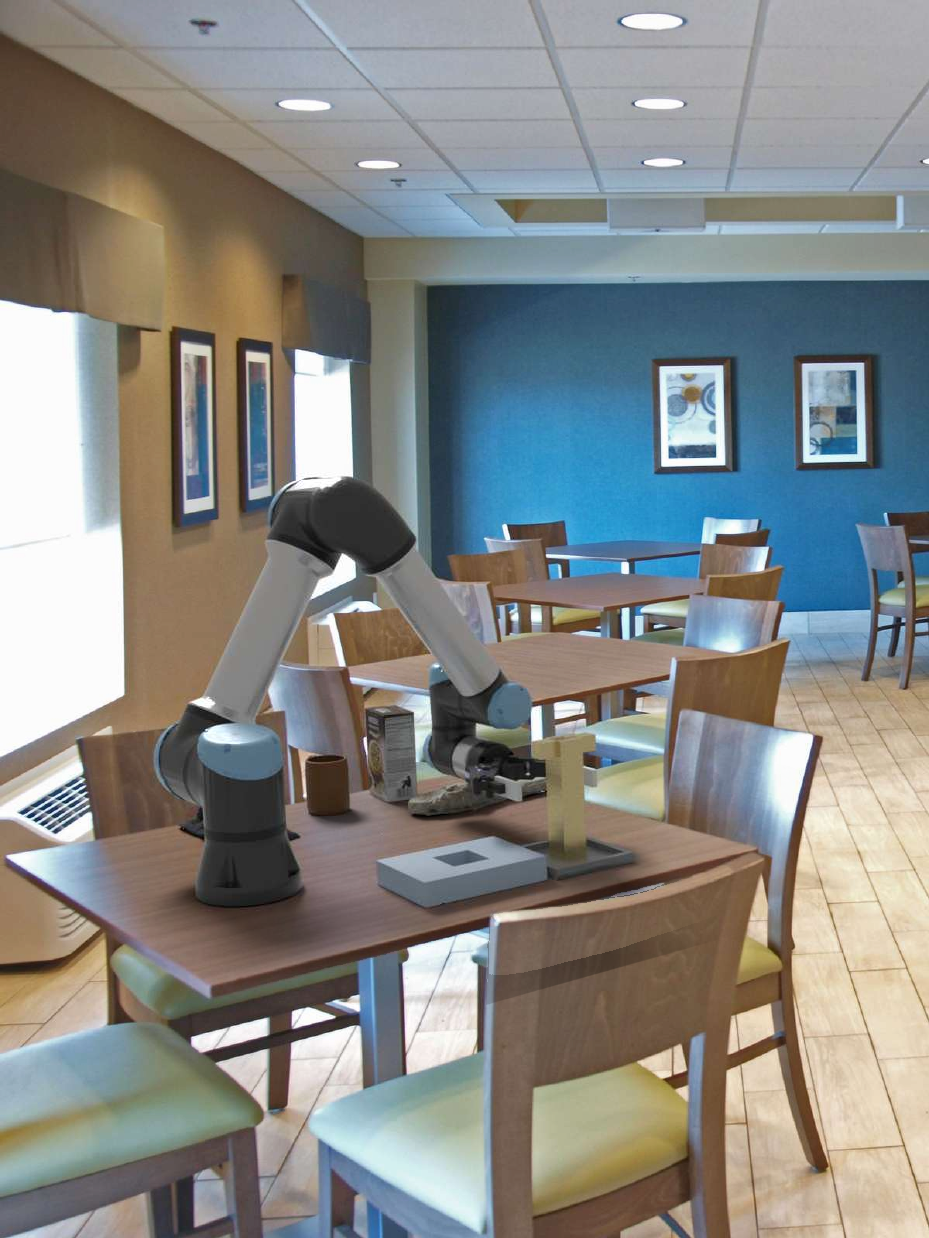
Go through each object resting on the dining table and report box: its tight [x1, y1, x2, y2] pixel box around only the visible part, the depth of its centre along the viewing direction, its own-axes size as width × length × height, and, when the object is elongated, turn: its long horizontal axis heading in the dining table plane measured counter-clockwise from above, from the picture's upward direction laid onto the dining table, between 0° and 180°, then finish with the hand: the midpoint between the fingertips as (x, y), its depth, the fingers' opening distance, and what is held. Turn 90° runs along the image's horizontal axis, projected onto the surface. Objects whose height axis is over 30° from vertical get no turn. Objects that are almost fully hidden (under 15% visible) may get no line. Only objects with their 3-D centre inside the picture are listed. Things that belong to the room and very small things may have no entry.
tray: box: [520, 835, 636, 881], centre depth 205 cm, size 14×14×2 cm
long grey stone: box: [407, 772, 547, 817], centre depth 246 cm, size 35×5×10 cm
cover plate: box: [375, 835, 548, 909], centre depth 197 cm, size 20×14×4 cm
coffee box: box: [364, 704, 418, 803], centre depth 251 cm, size 9×6×16 cm
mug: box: [304, 754, 351, 816], centre depth 244 cm, size 12×8×9 cm, turn 28°
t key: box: [530, 731, 597, 862], centre depth 204 cm, size 10×4×18 cm, turn 121°
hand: (558, 785), depth 206 cm, fingers open, 13 cm apart
